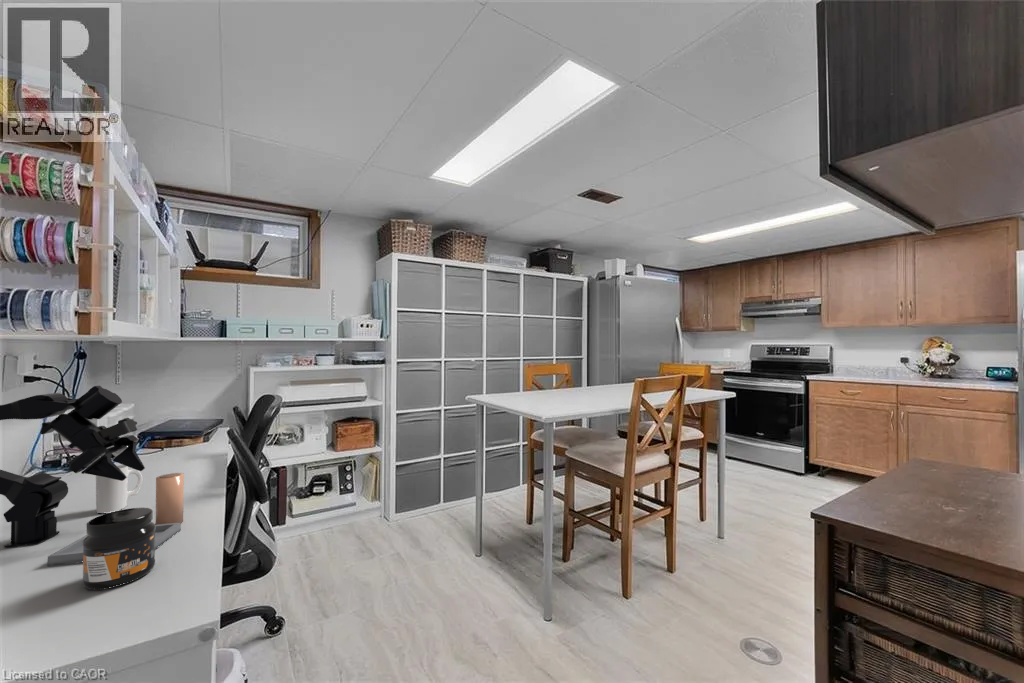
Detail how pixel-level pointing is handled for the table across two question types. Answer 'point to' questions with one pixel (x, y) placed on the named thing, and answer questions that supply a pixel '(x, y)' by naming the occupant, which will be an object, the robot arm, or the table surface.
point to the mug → (115, 491)
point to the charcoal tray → (75, 549)
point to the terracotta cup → (169, 498)
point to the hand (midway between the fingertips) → (134, 474)
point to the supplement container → (118, 548)
